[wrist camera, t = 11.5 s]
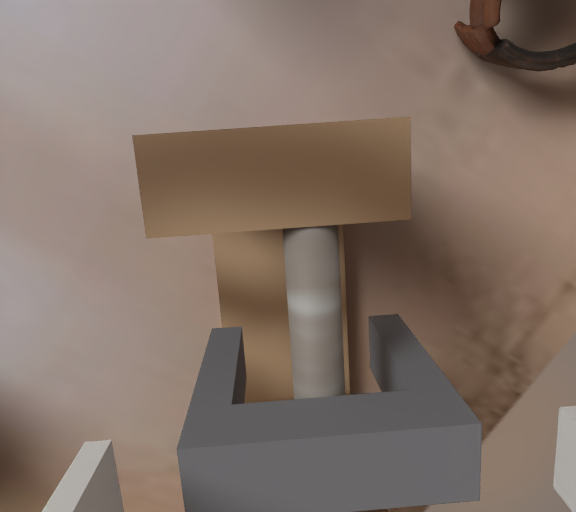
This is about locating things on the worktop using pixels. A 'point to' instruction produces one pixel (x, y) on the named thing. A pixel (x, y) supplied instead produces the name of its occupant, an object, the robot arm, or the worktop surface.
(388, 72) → the worktop surface
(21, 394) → the worktop surface
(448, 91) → the worktop surface
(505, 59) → the brown looped piece
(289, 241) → the rack
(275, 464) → the u piece
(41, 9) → the worktop surface
